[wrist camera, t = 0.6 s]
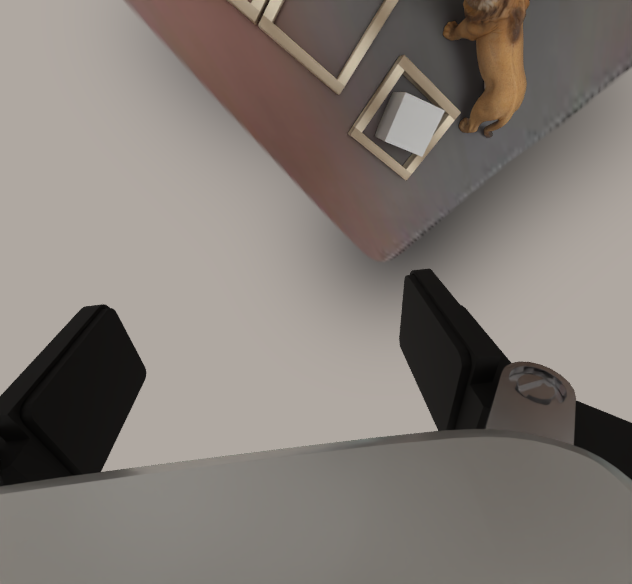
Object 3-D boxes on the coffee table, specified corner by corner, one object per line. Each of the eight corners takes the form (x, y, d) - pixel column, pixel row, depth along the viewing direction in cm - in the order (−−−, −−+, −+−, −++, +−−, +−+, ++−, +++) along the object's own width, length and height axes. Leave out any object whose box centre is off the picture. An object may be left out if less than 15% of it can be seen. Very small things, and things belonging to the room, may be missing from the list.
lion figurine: (411, -11, 26) (464, -52, 19) (473, -58, 25) (555, -123, 17) (464, 150, 33) (517, 168, 26) (513, 120, 32) (584, 128, 25)
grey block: (392, 92, 30) (405, 92, 27) (427, 108, 31) (445, 110, 28) (374, 136, 32) (384, 141, 29) (408, 150, 33) (422, 156, 30)
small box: (399, 56, 28) (404, 54, 27) (454, 111, 31) (460, 112, 30) (347, 133, 31) (350, 135, 30) (402, 177, 34) (406, 180, 33)
